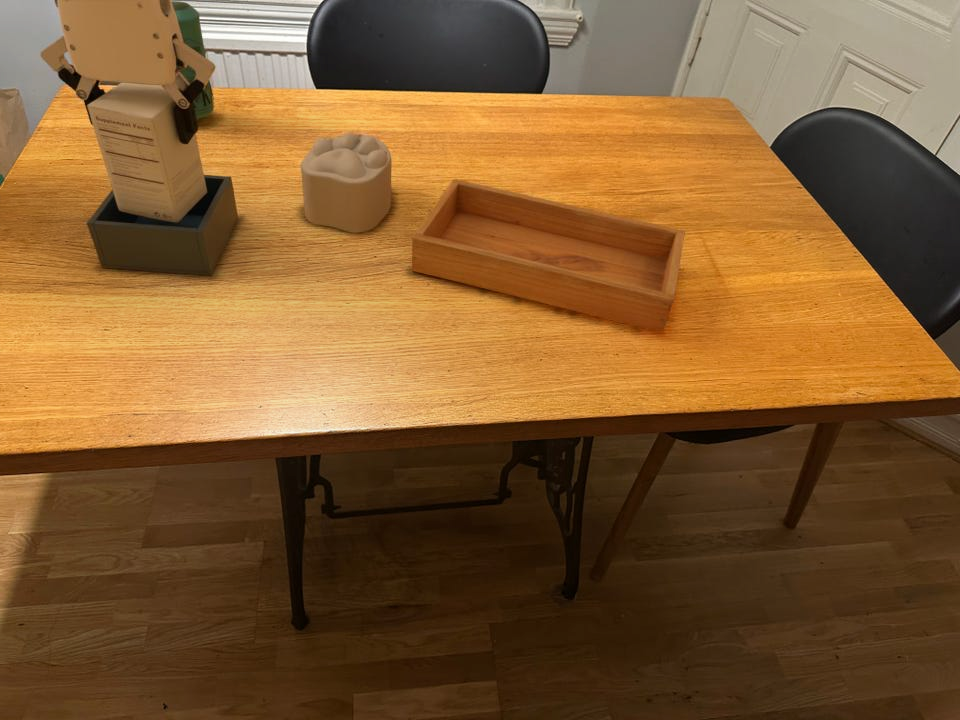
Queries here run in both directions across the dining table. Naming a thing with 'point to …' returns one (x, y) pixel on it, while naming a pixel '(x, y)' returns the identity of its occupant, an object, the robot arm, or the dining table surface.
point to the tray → (551, 253)
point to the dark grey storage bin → (167, 234)
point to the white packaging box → (147, 152)
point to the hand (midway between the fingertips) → (147, 134)
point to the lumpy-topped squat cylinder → (347, 182)
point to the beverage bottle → (194, 40)
